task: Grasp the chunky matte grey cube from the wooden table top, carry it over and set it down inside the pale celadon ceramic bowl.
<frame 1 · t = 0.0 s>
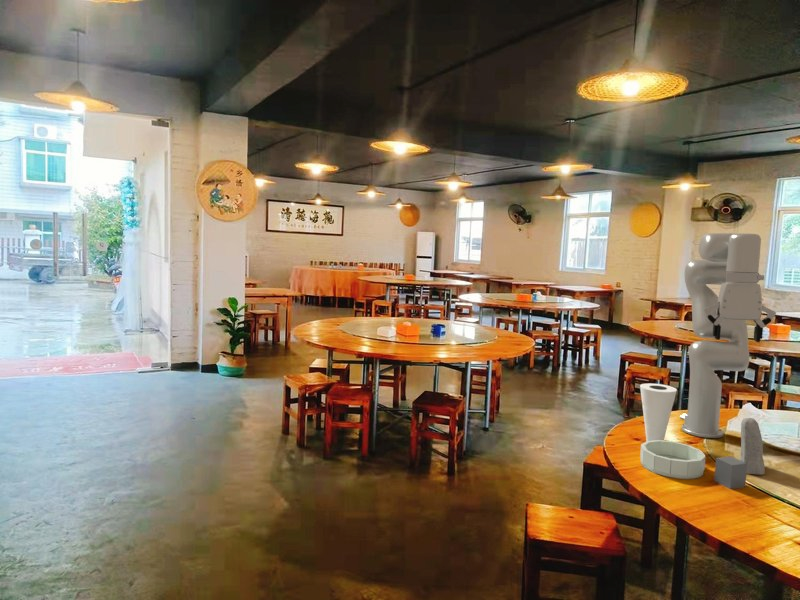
hand: (736, 340, 151), 37 cm above the table, tool pointing down, fingers open, 9 cm apart
bowl: (671, 467, 155), on the table
matte grey cube: (729, 484, 145), on the table
cup: (654, 442, 175), on the table
decorative stone: (749, 468, 156), on the table
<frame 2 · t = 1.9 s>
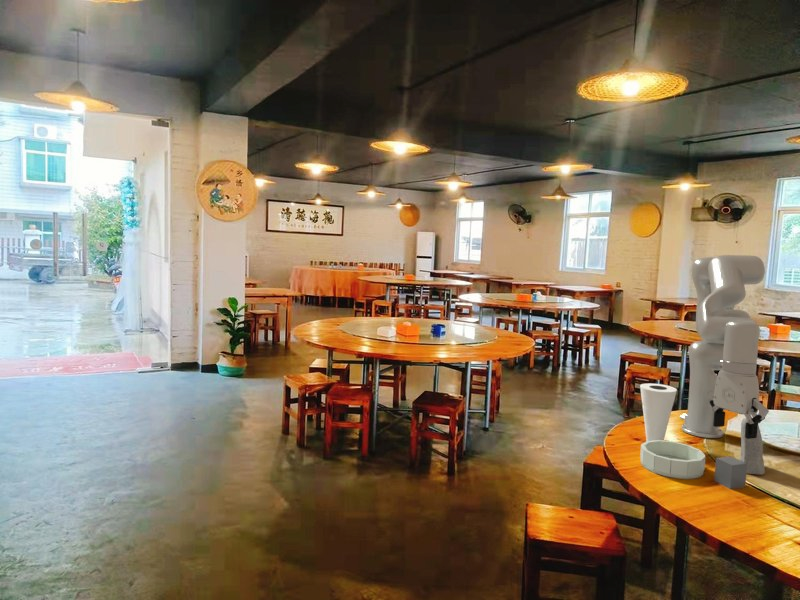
hand: (734, 432, 143), 14 cm above the table, tool pointing down, fingers open, 9 cm apart
nothing on the table moved.
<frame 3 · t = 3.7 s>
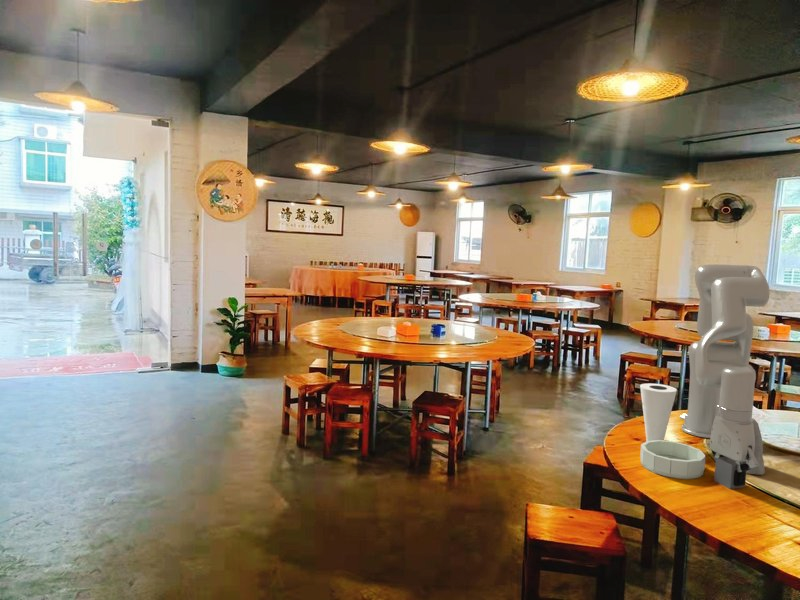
hand: (729, 480, 145), 1 cm above the table, tool pointing down, fingers closed on matte grey cube, 5 cm apart
matte grey cube: (729, 483, 145), on the table, touching gripper
everything else where it was.
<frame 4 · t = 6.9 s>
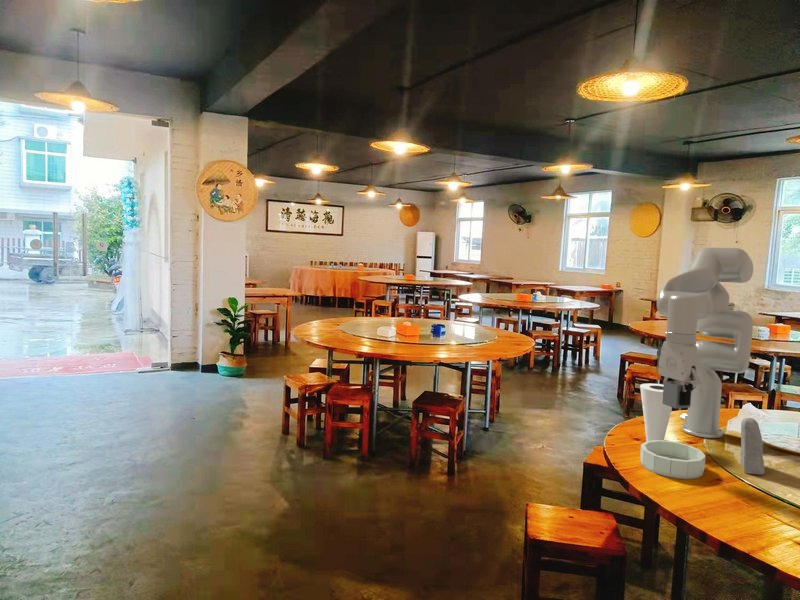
hand: (676, 401, 153), 19 cm above the table, tool pointing down, fingers closed on matte grey cube, 5 cm apart
matte grey cube: (676, 405, 153), point 18 cm above the table, touching gripper
everything else where it was.
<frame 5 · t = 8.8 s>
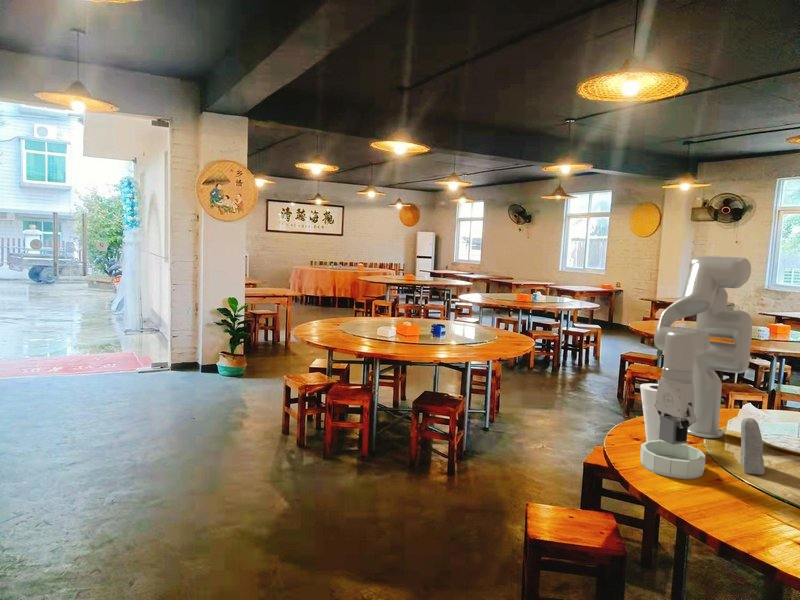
hand: (673, 437, 154), 9 cm above the table, tool pointing down, fingers closed on matte grey cube, 5 cm apart
matte grey cube: (672, 440, 154), point 8 cm above the table, touching gripper
everything else where it was.
when the fingers open (4 cm above the table, at t = 10.5 s): matte grey cube drops 2 cm, resting on bowl.
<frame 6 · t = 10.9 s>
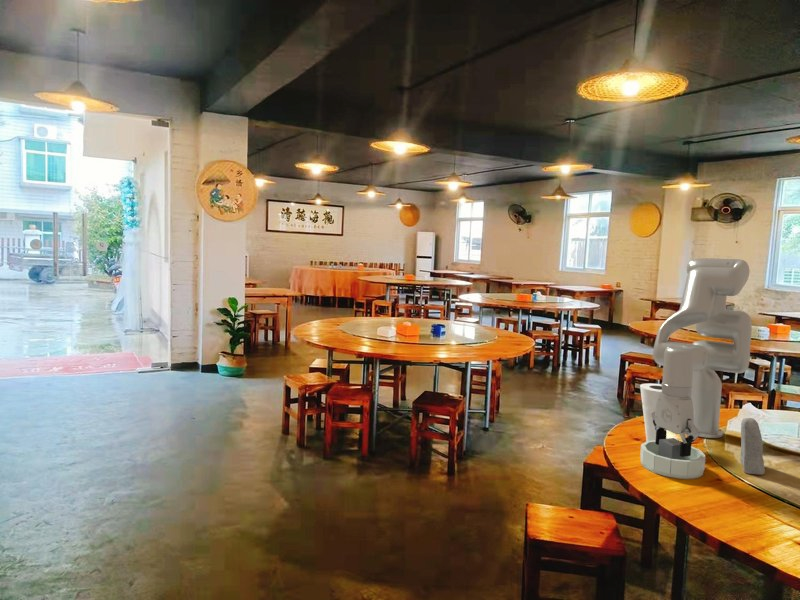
hand: (672, 449, 155), 5 cm above the table, tool pointing down, fingers open, 8 cm apart
matte grey cube: (671, 463, 155), point 1 cm above the table, touching bowl
everything else where it was.
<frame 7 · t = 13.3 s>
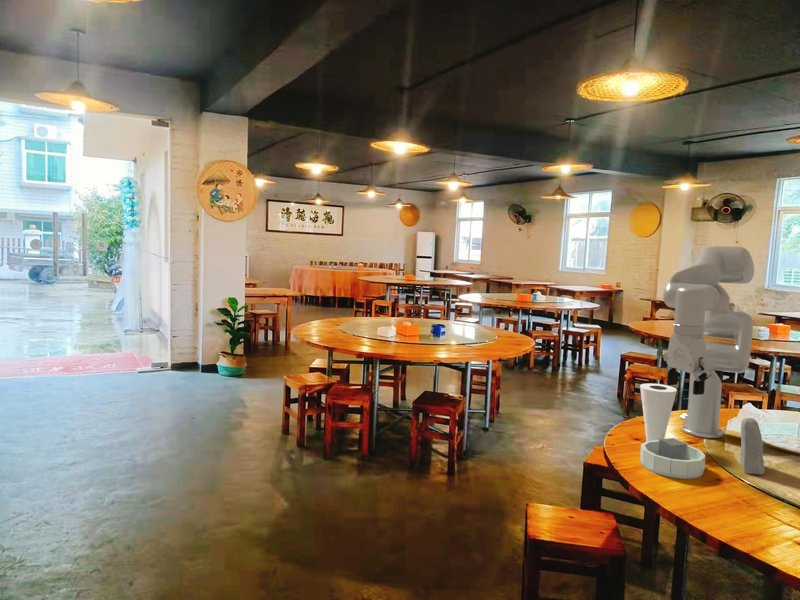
hand: (684, 389, 155), 22 cm above the table, tool pointing down, fingers open, 9 cm apart
nothing on the table moved.
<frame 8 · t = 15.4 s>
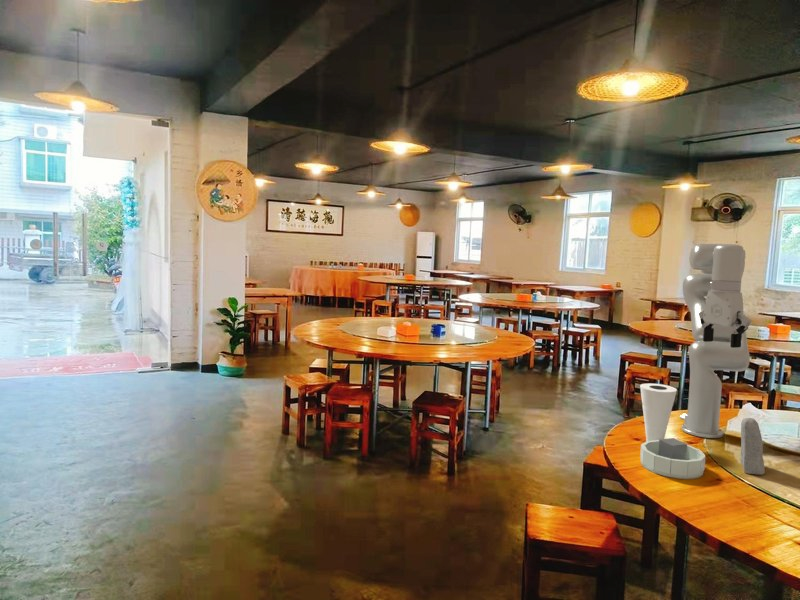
hand: (721, 344, 161), 34 cm above the table, tool pointing down, fingers open, 9 cm apart
nothing on the table moved.
at the end: matte grey cube inside the target area on the bowl (0.0 cm from its centre), point 1.0 cm above the bowl's base; the gripper is holding nothing; matte grey cube touching bowl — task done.
